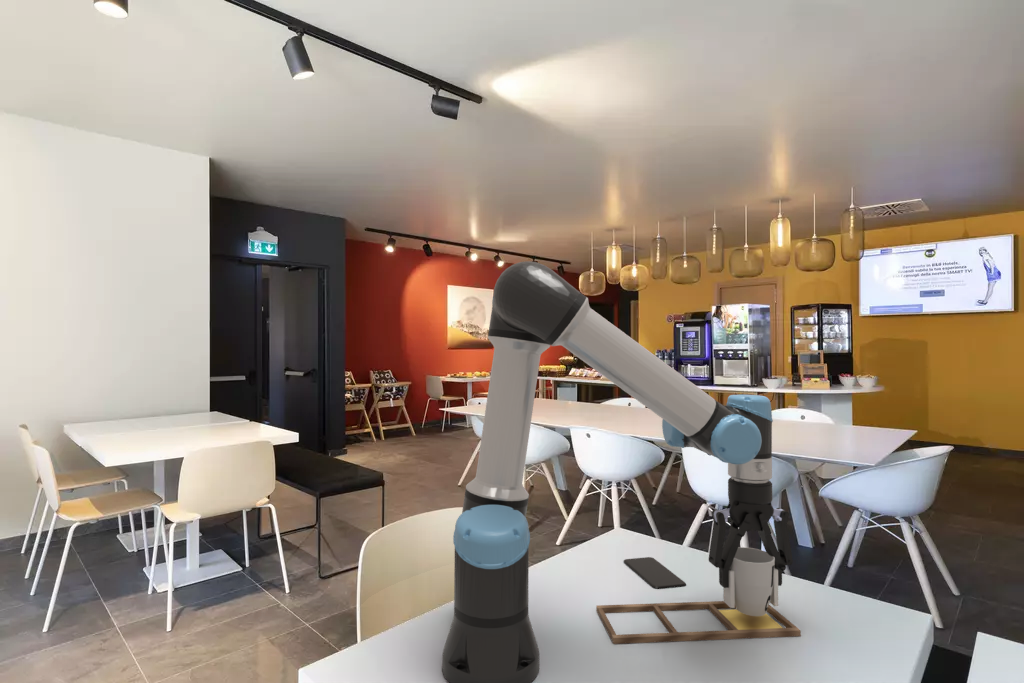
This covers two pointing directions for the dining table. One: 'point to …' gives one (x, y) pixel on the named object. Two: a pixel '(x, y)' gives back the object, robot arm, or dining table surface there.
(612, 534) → the dining table surface
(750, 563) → the cup
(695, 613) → the dining table surface
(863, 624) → the dining table surface
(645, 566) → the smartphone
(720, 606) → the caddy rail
